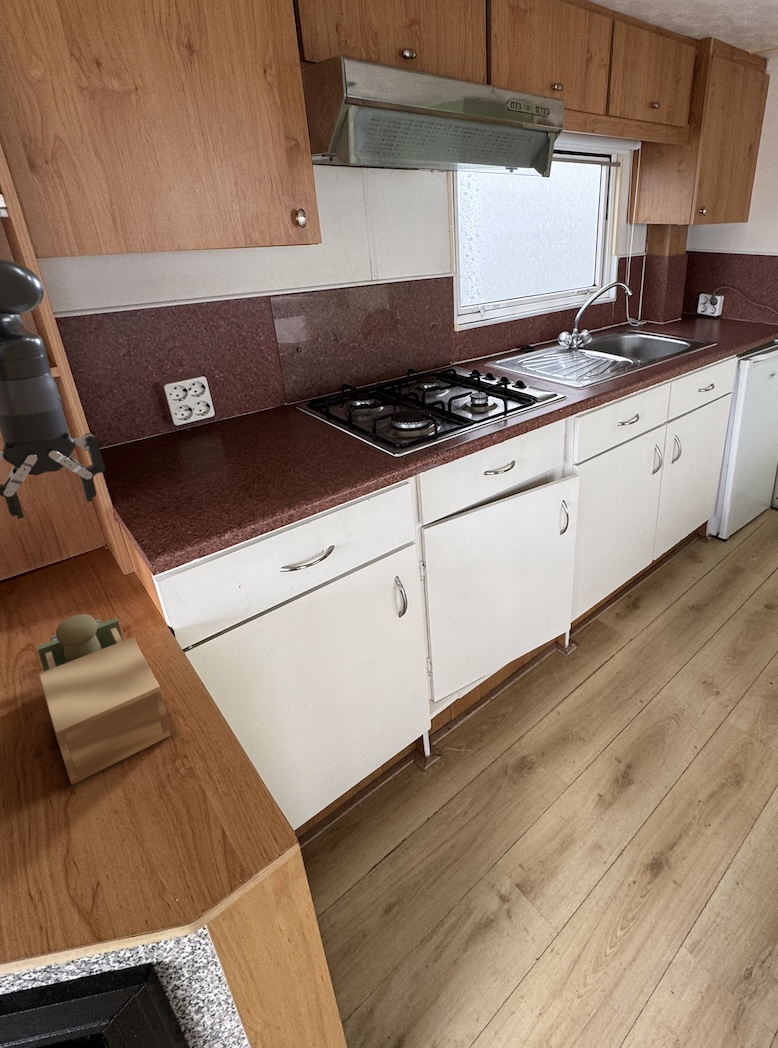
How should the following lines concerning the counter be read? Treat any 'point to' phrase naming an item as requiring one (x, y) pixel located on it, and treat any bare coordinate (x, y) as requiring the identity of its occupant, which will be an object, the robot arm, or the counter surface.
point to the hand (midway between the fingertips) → (55, 508)
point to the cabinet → (104, 708)
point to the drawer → (54, 650)
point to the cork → (78, 636)
